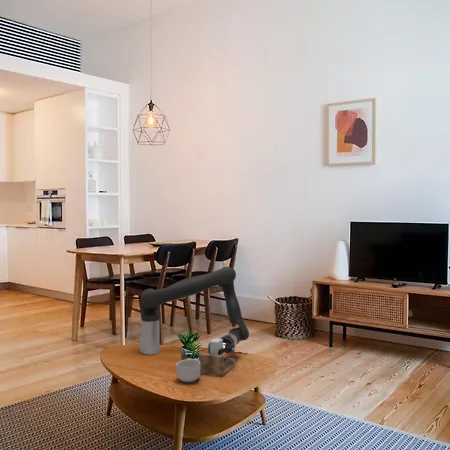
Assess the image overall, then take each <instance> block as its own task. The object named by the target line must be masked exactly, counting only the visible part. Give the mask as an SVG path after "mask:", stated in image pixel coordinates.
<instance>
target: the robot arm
mask: <svg viewBox="0 0 450 450" xmlns="http://www.w3.org/2000/svg"><path fill="white" fill-rule="evenodd" d="M236 278H237V272H236V270H235V269H234V268H233V267H231V266H224V267H221V268H220V269H218V270H215V271H212V272H209V273H205V274H200V275H196V276H191V277H187V278H184V279H181V280H179V281H177V282H175V283H173V284H171V285H168V286H167V287H164V288H160V289H154V288H147V289H144V291H143V292H142V294H141V300H140V303H141V304H140V305H141V307H140V308H141V309H140V310H141V311H140V315H141V334H139V353H141V354H143V355H156V354H159V353H160V306H161V305H163V304H165V303H168V302H171V301H175V300H180V299H183V298H187V297H190V296H193V295H198V294H199V293H203V292H204V291H206V290H209V289H210V288H213V287H216V286H221V287H220V288H221V290H222V293H223V295H224V300H225V307H226V311H227V317H228V321H229V323H230V324H233V325H235V324H236V325H237V326H238V327H236V328H235V327H233V328H231V329H229V331H228V333H226V334H224V335H223V336H221V337H220V338H219V339H223V347H222V348H221V349H220V350H218V355H221V354H222V353H223V354H230V353H233V352H235V351H236V346H237V345H238V344H239V343H240V342H242V341H247V340H248V339H249V337H250V332H249V329H248V327H247V325H246V323H245V320H244V319H243V315H242V311H241V306H240V303H239V301H238V297H237V296H236V295H237V294H236V290H235V280H236ZM207 346H208V348H207V352H208V354H210V342H208V345H207Z"/></svg>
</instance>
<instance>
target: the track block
mask: <svg viewBox="0 0 450 450" xmlns="http://www.w3.org/2000/svg"><path fill="white" fill-rule="evenodd" d="M198 360H199V361H200V375H208V376H212V377H213V376H215V377H222V378H224V376H226V375H227V374H228V373H229V372H230V371H231V370H233V368H235V367H236V358H230V357H225V356H224V355H223V356H218V355H210V354H209V353H198Z"/></svg>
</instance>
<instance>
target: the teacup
mask: <svg viewBox="0 0 450 450" xmlns="http://www.w3.org/2000/svg"><path fill="white" fill-rule="evenodd" d="M175 367H176V369H175V370H176V376H177V378H178V380H180V381H181V382H183V383H193V382H196V381H197V380H198V379H199V377H200V376H201V374H200V361H199V359H195V358H193V359H192V358H189V357H188V358H186V359H182V360H179V361H177V362H176V363H175Z"/></svg>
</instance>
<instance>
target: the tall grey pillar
mask: <svg viewBox="0 0 450 450" xmlns="http://www.w3.org/2000/svg"><path fill="white" fill-rule="evenodd" d="M209 343H210V355H218V350H220V349H221V348H222V347H223V339H220V338H215V337H214V338H213V339H211V340H210V341H209ZM218 356H224V353H222V354H221V355H218Z"/></svg>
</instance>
